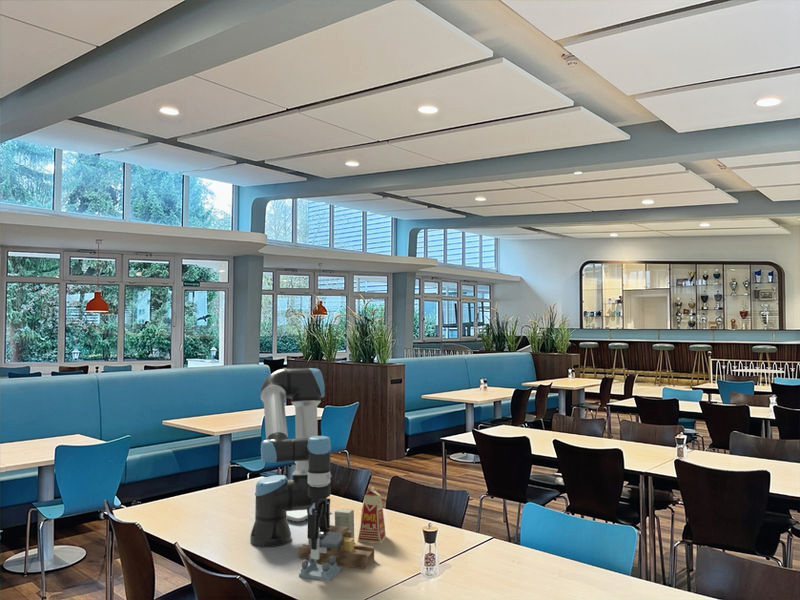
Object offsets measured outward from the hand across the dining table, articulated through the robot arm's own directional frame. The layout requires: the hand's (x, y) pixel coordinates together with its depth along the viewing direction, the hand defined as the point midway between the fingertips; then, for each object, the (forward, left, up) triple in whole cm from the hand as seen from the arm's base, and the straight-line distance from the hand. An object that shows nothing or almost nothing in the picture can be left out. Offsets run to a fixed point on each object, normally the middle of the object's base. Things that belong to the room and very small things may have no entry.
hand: (318, 555), depth 209 cm
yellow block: (+3, +13, -2) cm, 13 cm away
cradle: (0, 0, -6) cm, 6 cm away
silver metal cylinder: (+2, 0, +3) cm, 4 cm away
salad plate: (-36, +56, -6) cm, 66 cm away
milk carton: (+5, +37, -6) cm, 38 cm away
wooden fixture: (0, +13, -6) cm, 14 cm away
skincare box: (-3, +29, -6) cm, 29 cm away
